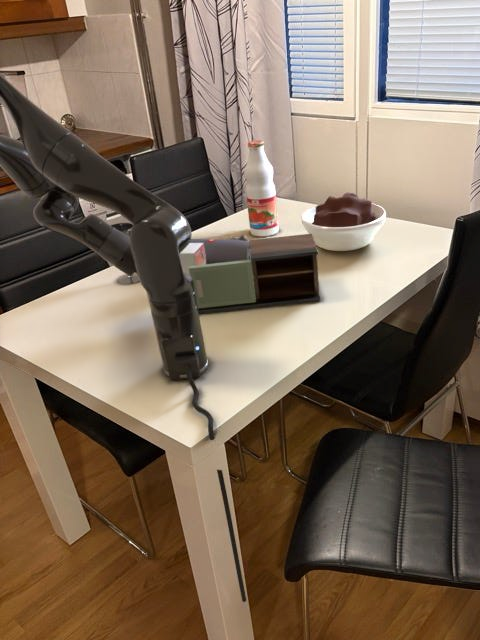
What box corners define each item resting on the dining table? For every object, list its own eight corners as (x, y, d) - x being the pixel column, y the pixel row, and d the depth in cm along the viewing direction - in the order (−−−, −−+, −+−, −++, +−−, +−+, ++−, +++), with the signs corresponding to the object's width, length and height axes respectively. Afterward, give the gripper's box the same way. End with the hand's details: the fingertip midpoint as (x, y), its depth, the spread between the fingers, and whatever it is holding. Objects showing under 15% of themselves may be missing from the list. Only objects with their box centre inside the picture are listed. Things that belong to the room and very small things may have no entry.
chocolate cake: (294, 260, 171) (290, 208, 163) (311, 230, 191) (309, 183, 183) (381, 261, 165) (381, 208, 157) (389, 230, 185) (390, 181, 177)
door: (256, 303, 146) (251, 262, 140) (195, 309, 145) (188, 269, 140) (255, 299, 148) (251, 259, 142) (196, 306, 147) (188, 266, 141)
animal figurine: (260, 239, 177) (250, 249, 175) (264, 250, 181) (254, 260, 179) (231, 229, 183) (221, 239, 181) (235, 240, 187) (225, 250, 185)
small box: (200, 291, 158) (194, 253, 152) (181, 290, 159) (173, 253, 153) (210, 278, 164) (204, 242, 158) (191, 278, 165) (184, 242, 160)
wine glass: (111, 282, 167) (97, 231, 159) (129, 271, 173) (117, 221, 165) (132, 286, 164) (120, 233, 156) (150, 275, 170) (139, 224, 162)
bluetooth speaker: (256, 233, 165) (244, 246, 157) (260, 265, 170) (248, 279, 162) (183, 231, 171) (167, 244, 163) (188, 262, 176) (173, 275, 168)
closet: (319, 296, 149) (316, 247, 142) (256, 303, 149) (250, 254, 142) (314, 280, 158) (311, 233, 150) (254, 287, 157) (249, 240, 150)
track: (320, 301, 147) (318, 251, 140) (192, 315, 146) (183, 265, 139) (319, 296, 149) (316, 247, 142) (193, 310, 148) (184, 261, 141)
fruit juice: (284, 228, 195) (276, 138, 179) (270, 238, 188) (261, 145, 172) (259, 226, 199) (250, 138, 183) (245, 235, 192) (234, 144, 176)
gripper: (117, 253, 144) (176, 294, 151) (108, 274, 133) (172, 317, 140) (134, 230, 141) (193, 272, 148) (126, 249, 130) (191, 294, 137)
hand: (183, 294), depth 144 cm, fingers closed
